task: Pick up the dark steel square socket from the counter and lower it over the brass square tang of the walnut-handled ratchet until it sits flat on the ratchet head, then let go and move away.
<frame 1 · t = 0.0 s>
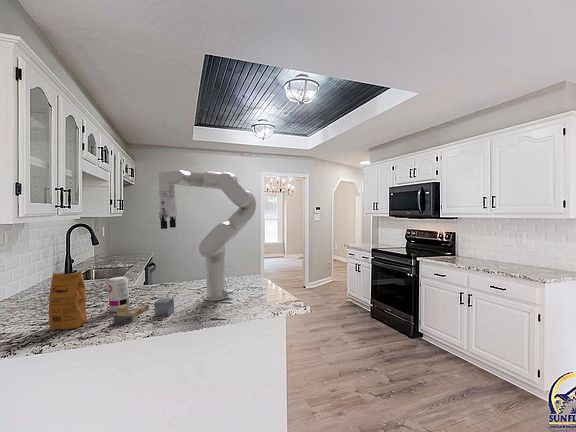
hand: (168, 228, 163), 37 cm above the countertop, tool pointing down, fingers open, 9 cm apart
socket: (164, 313, 140), on the countertop
coffee package: (68, 326, 128), on the countertop
ratchet: (133, 316, 138), on the countertop
supplement can: (119, 310, 148), on the countertop
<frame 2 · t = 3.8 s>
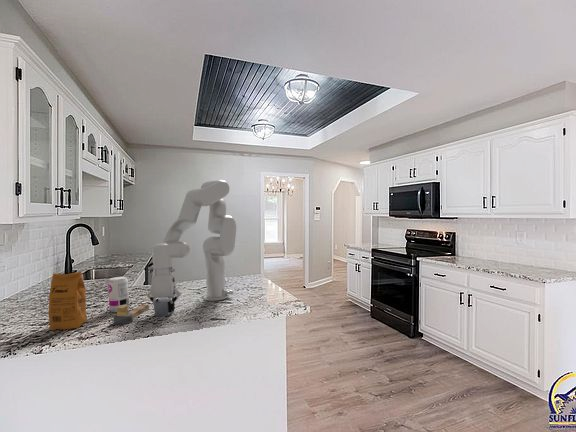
hand: (164, 311, 139), 1 cm above the countertop, tool pointing down, fingers closed on socket, 6 cm apart
socket: (164, 313, 140), on the countertop, touching gripper
everything else where it was.
when the fingers open (4 cm above the countertop, at t = 10.4 s): socket stays where it is, resting on ratchet.
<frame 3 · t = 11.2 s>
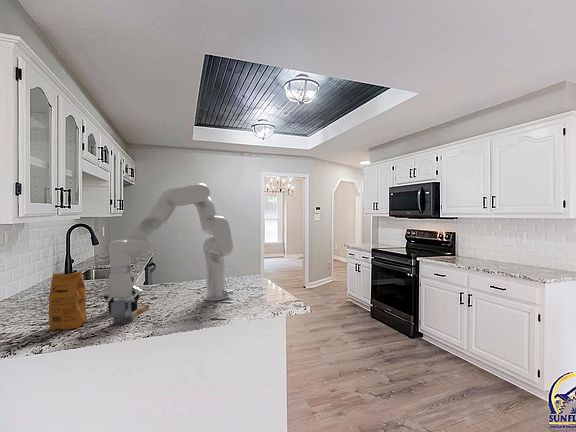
hand: (123, 310, 131), 5 cm above the countertop, tool pointing down, fingers open, 9 cm apart
socket: (122, 315, 130), point 3 cm above the countertop, touching ratchet
everything else where it was.
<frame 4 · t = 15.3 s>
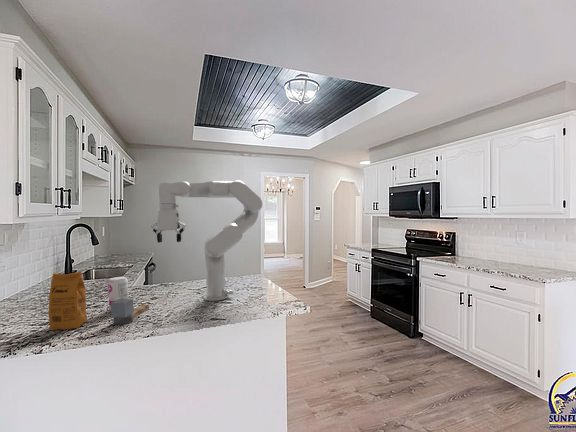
hand: (169, 242, 155), 30 cm above the countertop, tool pointing down, fingers open, 9 cm apart
nothing on the countertop moved.
at the end: socket 0.1 cm from the target spot on the ratchet, point 3.0 cm above the ratchet's base; socket tilted 0°; the gripper is holding nothing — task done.
